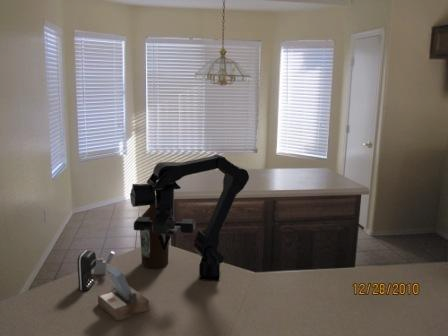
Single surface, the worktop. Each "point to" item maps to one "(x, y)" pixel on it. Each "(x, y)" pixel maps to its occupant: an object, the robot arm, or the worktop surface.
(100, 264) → the lighter
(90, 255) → the battery charger
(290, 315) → the worktop surface
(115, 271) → the block
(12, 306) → the worktop surface
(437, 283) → the worktop surface
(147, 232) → the olive oil
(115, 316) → the switch base
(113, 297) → the switch plate
